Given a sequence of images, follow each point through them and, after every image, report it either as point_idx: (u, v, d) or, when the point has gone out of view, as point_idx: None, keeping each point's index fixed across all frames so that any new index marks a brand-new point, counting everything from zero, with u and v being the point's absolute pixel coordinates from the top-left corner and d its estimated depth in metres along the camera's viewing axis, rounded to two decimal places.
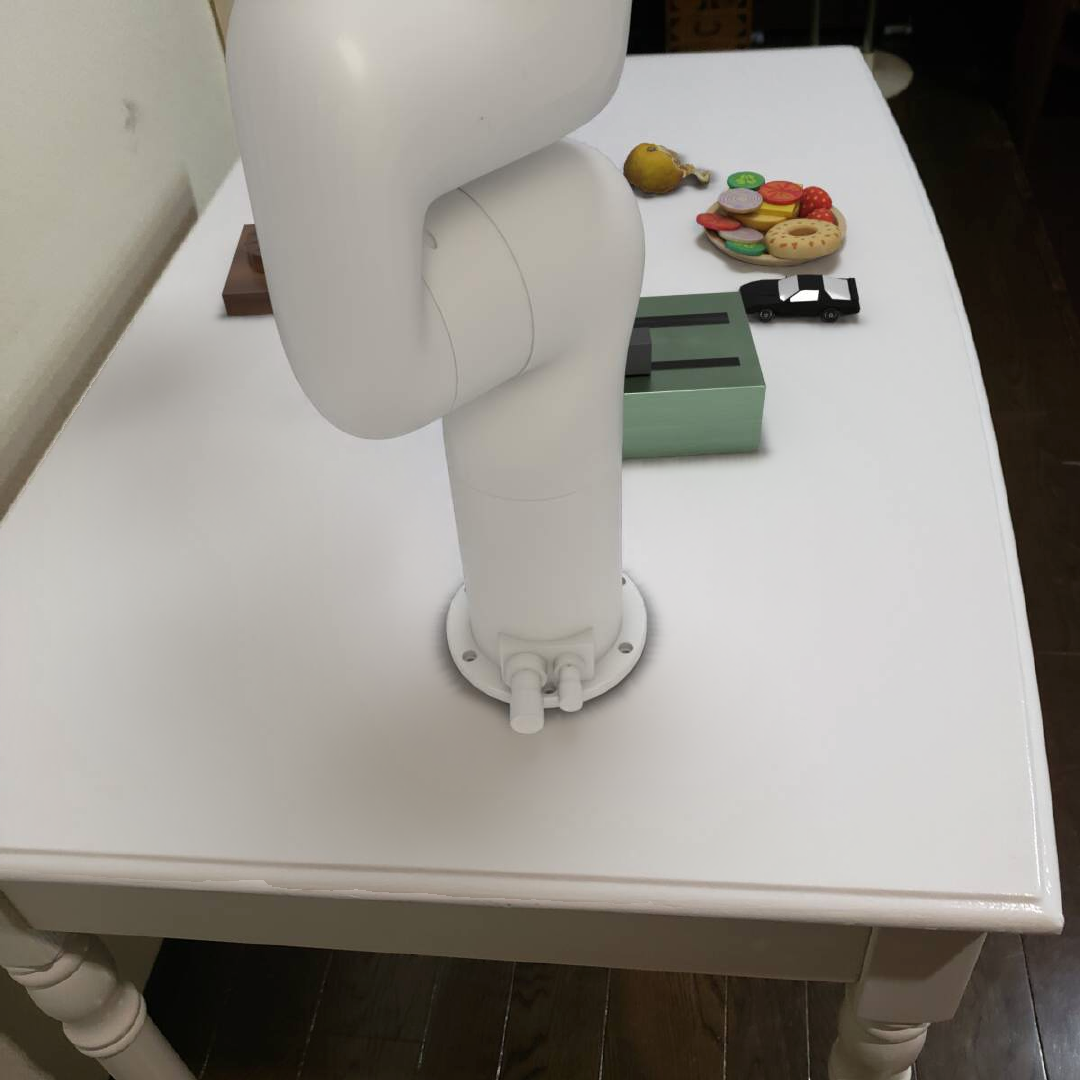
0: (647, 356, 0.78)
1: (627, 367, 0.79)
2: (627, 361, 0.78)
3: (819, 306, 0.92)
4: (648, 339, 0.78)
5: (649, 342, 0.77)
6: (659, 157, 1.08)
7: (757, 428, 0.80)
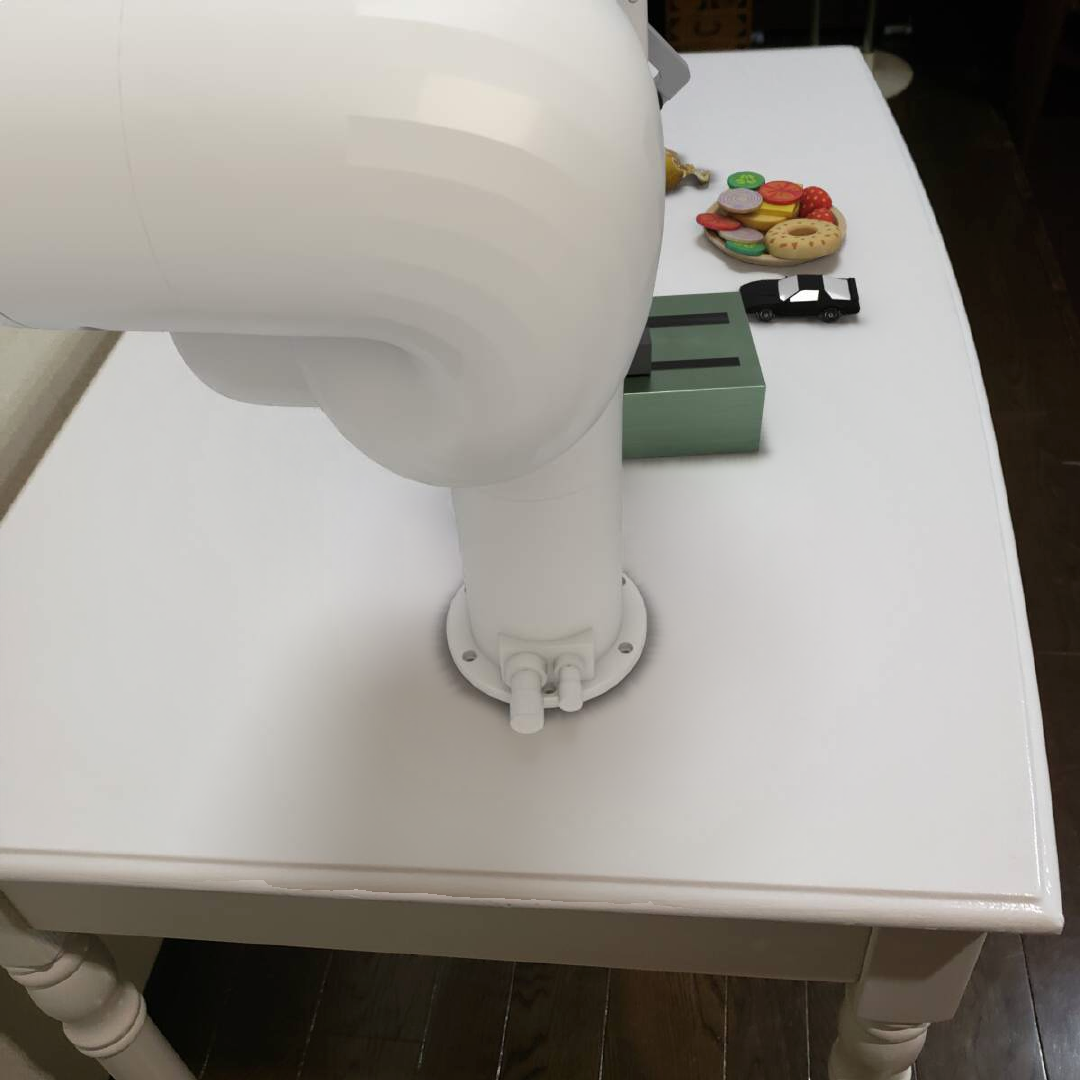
0: (647, 356, 0.78)
1: None
2: None
3: (819, 306, 0.92)
4: (648, 339, 0.78)
5: (649, 342, 0.77)
6: None
7: (757, 428, 0.80)
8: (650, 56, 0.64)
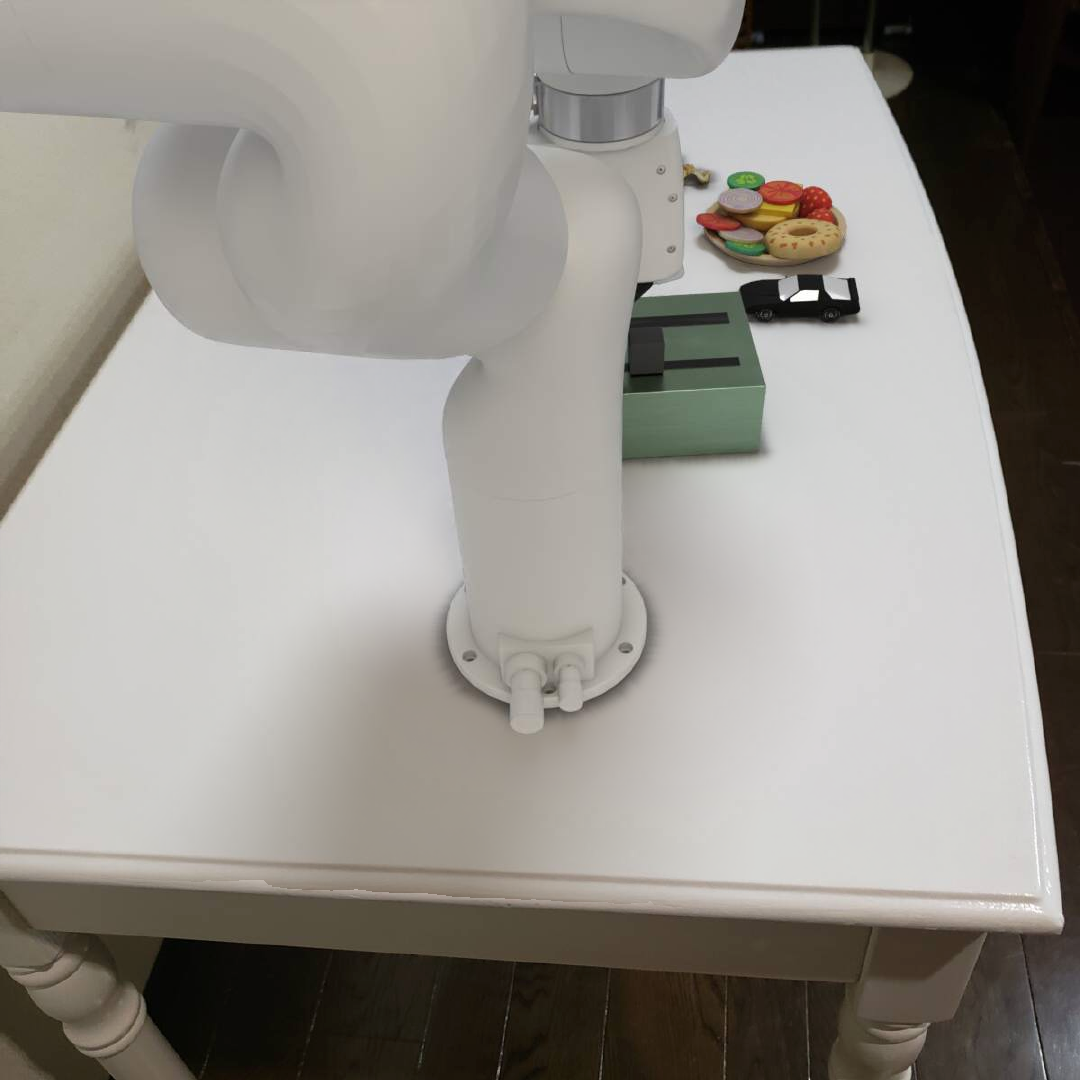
0: (660, 356, 0.78)
1: (640, 366, 0.79)
2: (640, 360, 0.78)
3: (819, 306, 0.92)
4: (661, 338, 0.77)
5: (662, 341, 0.77)
6: None
7: (757, 428, 0.80)
8: None
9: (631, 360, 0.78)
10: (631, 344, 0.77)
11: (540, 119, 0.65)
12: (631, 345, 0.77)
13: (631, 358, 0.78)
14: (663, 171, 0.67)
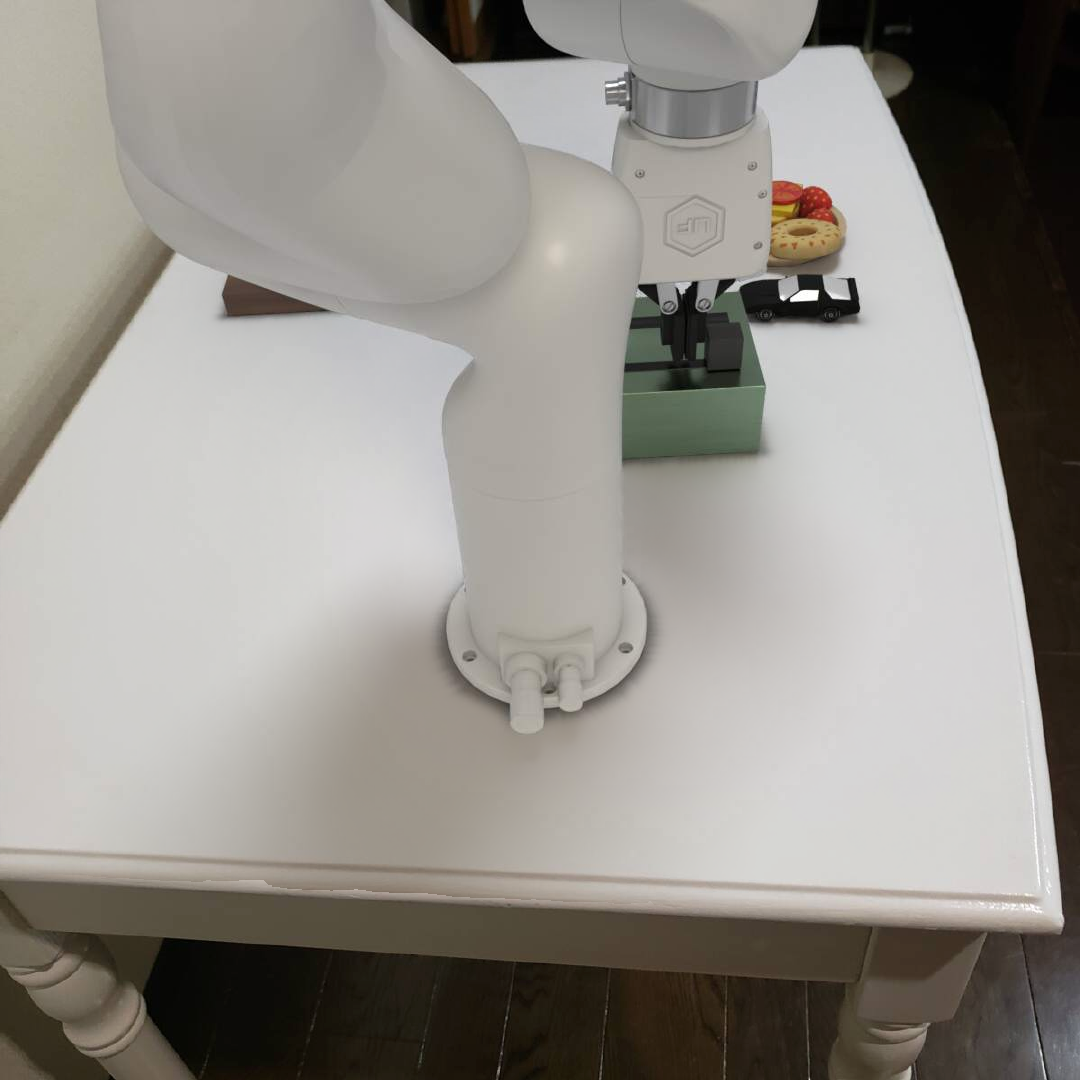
0: (739, 351, 0.78)
1: (718, 362, 0.78)
2: (718, 356, 0.78)
3: (819, 306, 0.92)
4: (740, 334, 0.77)
5: (742, 337, 0.77)
6: None
7: (757, 428, 0.80)
8: None
9: (709, 356, 0.78)
10: (710, 339, 0.77)
11: (633, 115, 0.65)
12: (710, 340, 0.77)
13: (709, 354, 0.78)
14: (754, 167, 0.67)
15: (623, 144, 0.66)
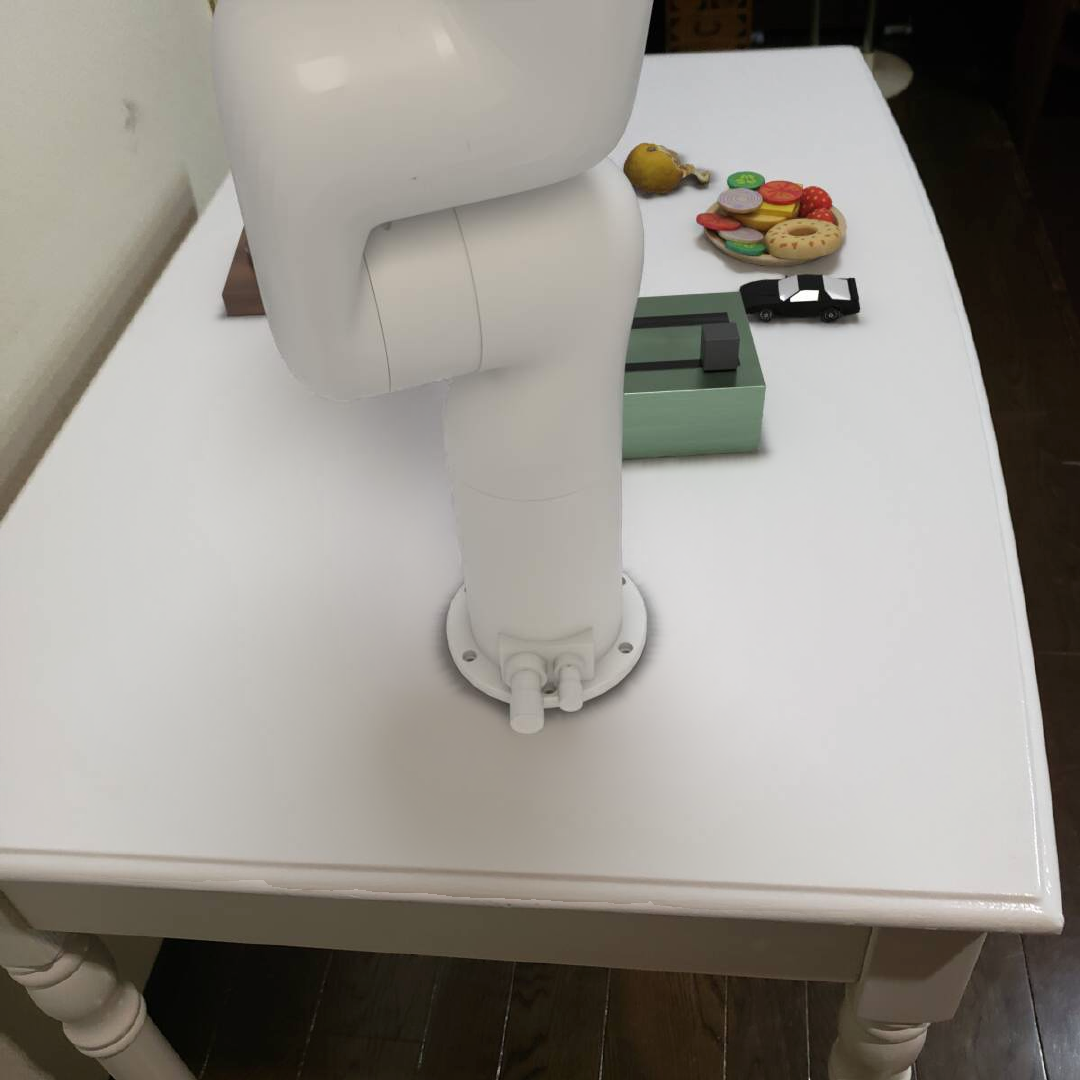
0: (735, 351, 0.78)
1: (714, 362, 0.78)
2: (714, 356, 0.78)
3: (819, 306, 0.92)
4: (736, 334, 0.77)
5: (738, 337, 0.77)
6: (659, 157, 1.08)
7: (757, 428, 0.80)
8: None
9: (705, 356, 0.78)
10: (706, 340, 0.77)
11: None
12: (706, 341, 0.77)
13: (705, 354, 0.78)
14: None
15: None
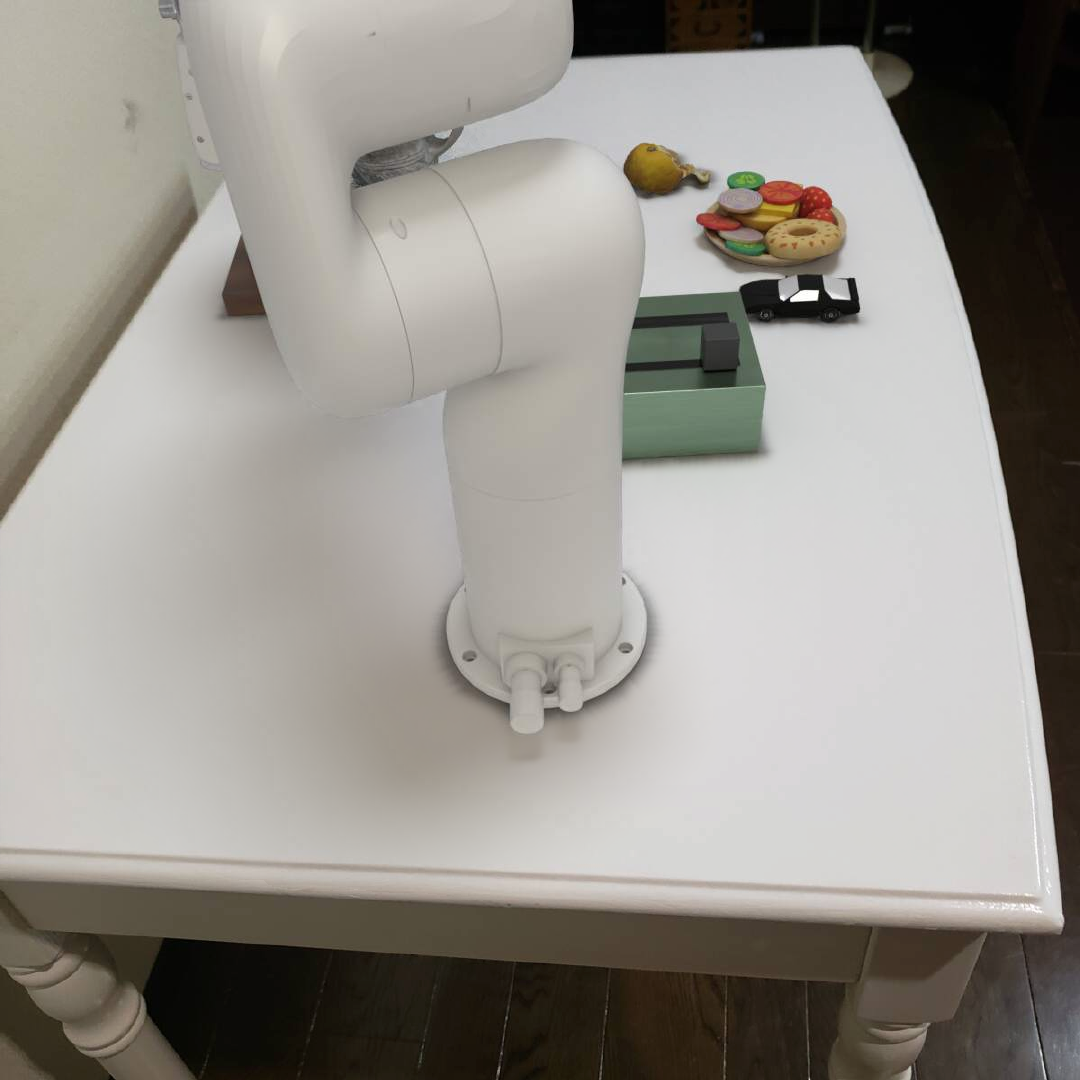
0: (735, 351, 0.78)
1: (714, 362, 0.78)
2: (714, 356, 0.78)
3: (819, 306, 0.92)
4: (736, 334, 0.77)
5: (738, 337, 0.77)
6: (659, 157, 1.08)
7: (757, 428, 0.80)
8: None
9: (705, 356, 0.78)
10: (706, 340, 0.77)
11: (181, 25, 0.85)
12: (706, 341, 0.77)
13: (705, 354, 0.78)
14: None
15: (177, 49, 0.86)
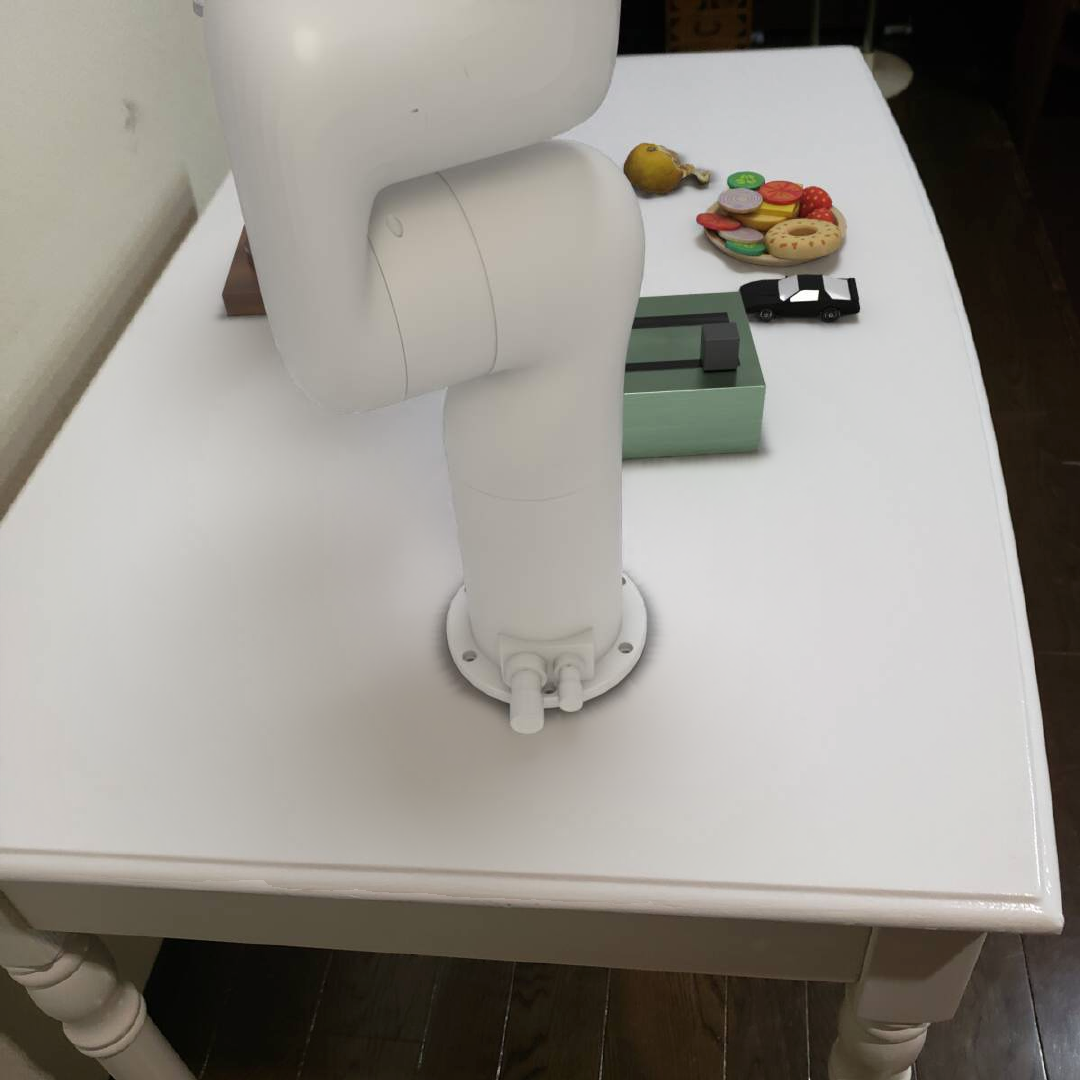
0: (735, 351, 0.78)
1: (714, 362, 0.78)
2: (714, 356, 0.78)
3: (819, 306, 0.92)
4: (736, 334, 0.77)
5: (738, 337, 0.77)
6: (659, 157, 1.08)
7: (757, 428, 0.80)
8: None
9: (705, 356, 0.78)
10: (706, 340, 0.77)
11: None
12: (706, 341, 0.77)
13: (705, 354, 0.78)
14: None
15: None
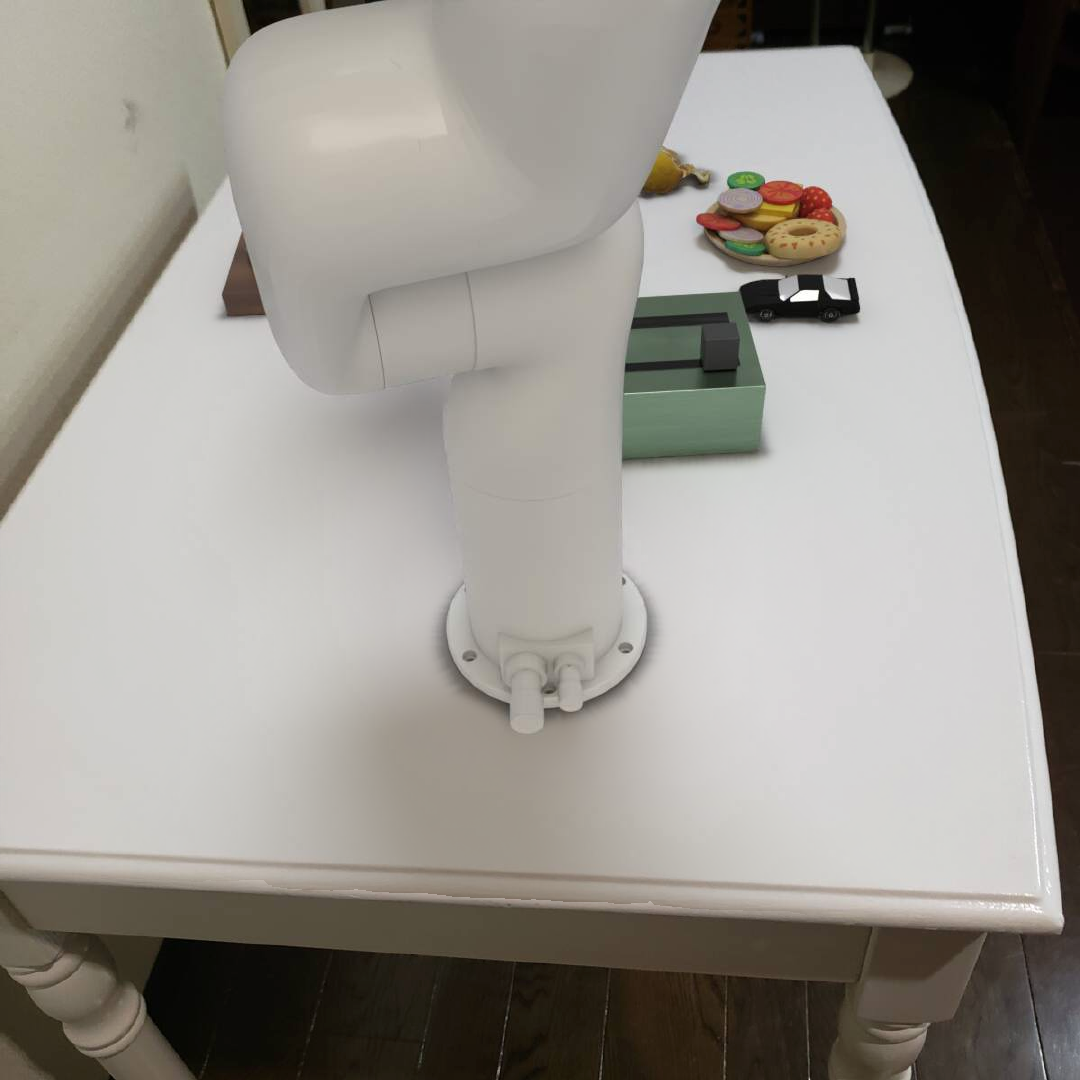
0: (735, 351, 0.78)
1: (714, 362, 0.78)
2: (714, 356, 0.78)
3: (819, 306, 0.92)
4: (736, 334, 0.77)
5: (738, 337, 0.77)
6: (659, 157, 1.08)
7: (757, 428, 0.80)
8: None
9: (705, 356, 0.78)
10: (706, 340, 0.77)
11: None
12: (706, 341, 0.77)
13: (705, 354, 0.78)
14: None
15: None
